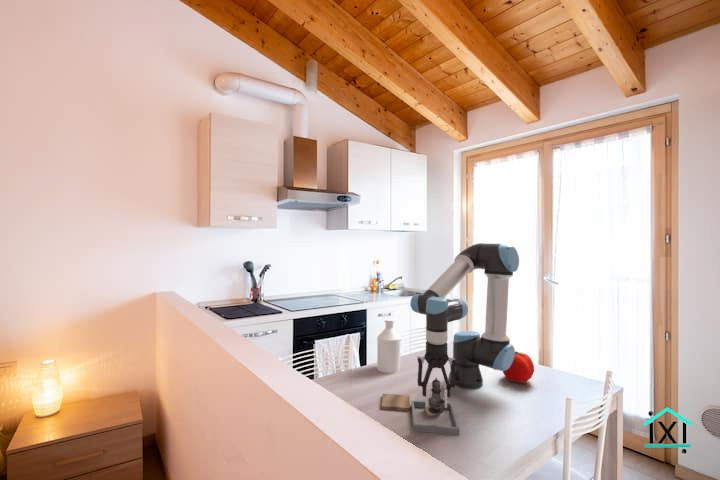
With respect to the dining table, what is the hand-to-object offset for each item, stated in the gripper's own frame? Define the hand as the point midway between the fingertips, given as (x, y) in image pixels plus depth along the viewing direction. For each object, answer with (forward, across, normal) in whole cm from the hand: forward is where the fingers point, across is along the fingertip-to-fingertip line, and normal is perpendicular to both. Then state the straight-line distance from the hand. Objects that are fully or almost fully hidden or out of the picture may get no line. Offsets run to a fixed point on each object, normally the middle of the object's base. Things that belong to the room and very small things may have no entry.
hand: (436, 405), depth 127 cm
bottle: (+8, +18, -50) cm, 54 cm away
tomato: (+8, -42, -44) cm, 62 cm away
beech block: (+7, 0, -8) cm, 11 cm away
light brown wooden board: (+7, +14, -14) cm, 21 cm away
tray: (+7, 0, -4) cm, 8 cm away
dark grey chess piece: (+2, 0, 0) cm, 2 cm away
